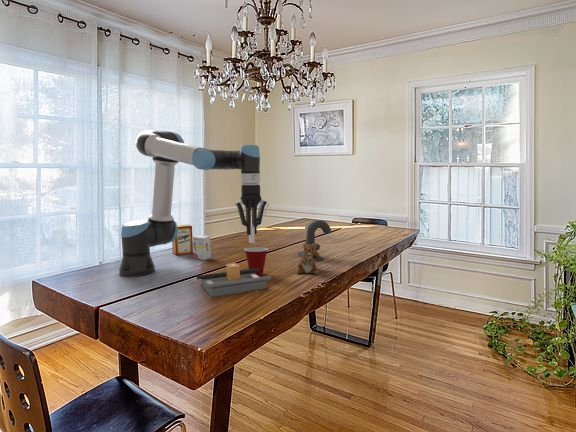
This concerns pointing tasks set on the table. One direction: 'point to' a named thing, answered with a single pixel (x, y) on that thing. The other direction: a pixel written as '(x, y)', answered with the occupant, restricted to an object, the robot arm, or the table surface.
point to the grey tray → (232, 281)
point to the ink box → (201, 247)
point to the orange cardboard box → (183, 241)
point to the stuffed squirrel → (308, 260)
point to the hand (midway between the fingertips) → (251, 242)
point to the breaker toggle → (233, 271)
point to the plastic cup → (256, 258)
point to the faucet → (311, 235)
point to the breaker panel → (232, 288)
